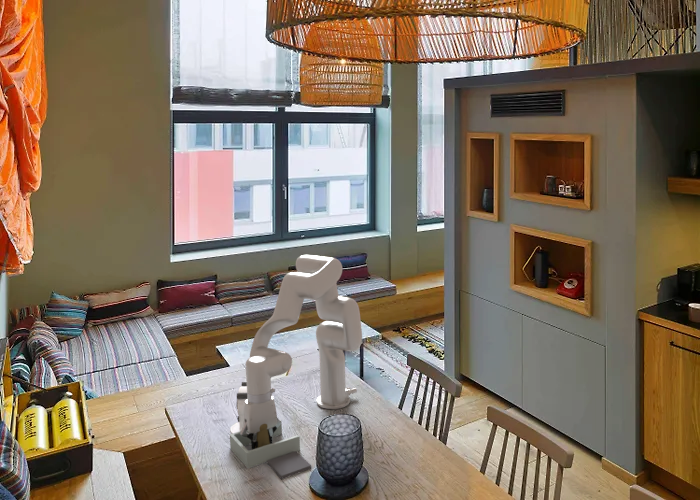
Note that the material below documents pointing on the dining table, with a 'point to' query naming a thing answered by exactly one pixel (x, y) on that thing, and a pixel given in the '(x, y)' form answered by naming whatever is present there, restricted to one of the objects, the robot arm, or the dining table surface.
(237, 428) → the white upright piece
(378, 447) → the dining table surface
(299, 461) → the charcoal mat
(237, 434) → the box
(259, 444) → the cork
